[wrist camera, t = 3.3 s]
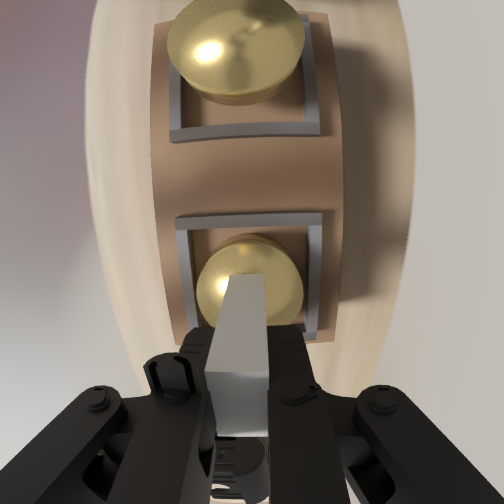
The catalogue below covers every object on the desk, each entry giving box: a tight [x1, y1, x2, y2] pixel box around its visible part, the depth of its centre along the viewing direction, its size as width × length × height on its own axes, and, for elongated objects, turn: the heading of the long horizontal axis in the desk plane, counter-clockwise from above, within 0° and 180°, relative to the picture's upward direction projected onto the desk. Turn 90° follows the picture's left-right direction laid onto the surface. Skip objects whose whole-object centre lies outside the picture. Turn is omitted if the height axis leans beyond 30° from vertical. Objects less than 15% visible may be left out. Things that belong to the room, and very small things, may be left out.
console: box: [150, 11, 343, 345], centre depth 15 cm, size 20×10×6 cm, turn 2°
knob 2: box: [196, 233, 303, 327], centre depth 14 cm, size 5×5×2 cm
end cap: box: [211, 430, 269, 504], centre depth 24 cm, size 10×7×7 cm
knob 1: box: [167, 0, 305, 106], centre depth 8 cm, size 5×5×2 cm
